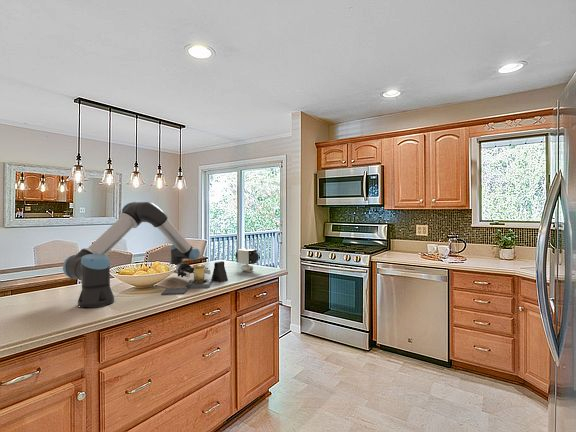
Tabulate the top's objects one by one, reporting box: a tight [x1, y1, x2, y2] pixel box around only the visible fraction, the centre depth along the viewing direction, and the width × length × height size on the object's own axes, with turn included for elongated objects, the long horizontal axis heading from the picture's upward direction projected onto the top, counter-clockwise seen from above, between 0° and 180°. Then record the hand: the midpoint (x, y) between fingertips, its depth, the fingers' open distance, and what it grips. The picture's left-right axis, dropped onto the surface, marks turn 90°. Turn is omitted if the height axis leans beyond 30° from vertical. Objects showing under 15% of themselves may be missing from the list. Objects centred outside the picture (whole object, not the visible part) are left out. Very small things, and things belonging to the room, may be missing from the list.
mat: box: [160, 286, 190, 296], centre depth 175 cm, size 12×12×1 cm
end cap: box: [192, 263, 206, 284], centre depth 189 cm, size 7×7×12 cm
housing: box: [185, 278, 213, 289], centre depth 189 cm, size 14×13×2 cm
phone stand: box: [211, 260, 229, 283], centre depth 202 cm, size 9×6×12 cm, turn 56°
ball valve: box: [234, 247, 259, 273], centre depth 231 cm, size 18×8×18 cm, turn 49°
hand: (199, 273), depth 190 cm, fingers open, 13 cm apart
